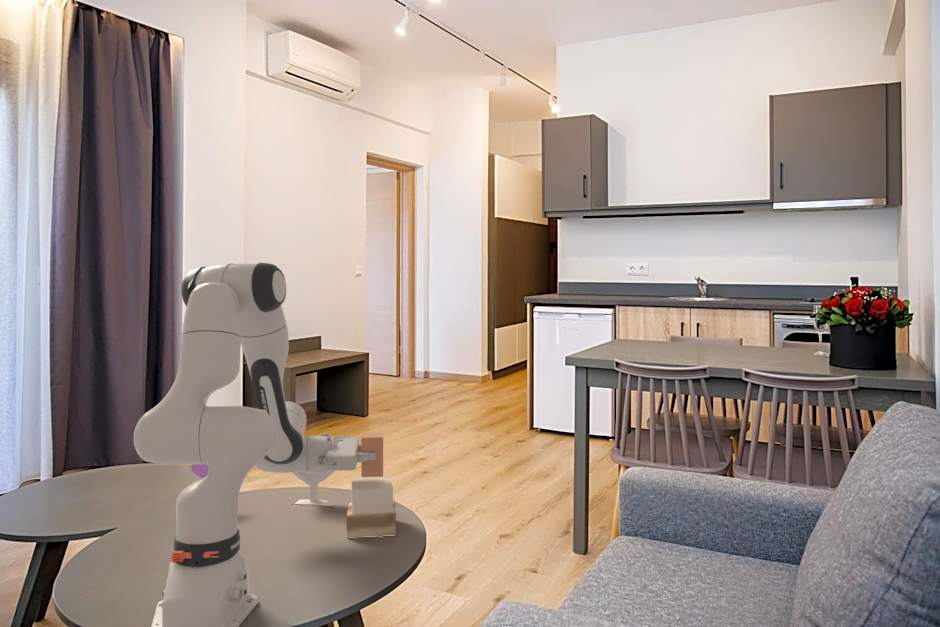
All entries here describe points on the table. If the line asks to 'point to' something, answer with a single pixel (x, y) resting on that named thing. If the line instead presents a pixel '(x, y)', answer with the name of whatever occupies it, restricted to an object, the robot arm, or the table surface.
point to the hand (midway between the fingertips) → (376, 452)
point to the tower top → (372, 496)
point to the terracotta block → (372, 444)
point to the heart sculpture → (312, 484)
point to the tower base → (371, 523)
